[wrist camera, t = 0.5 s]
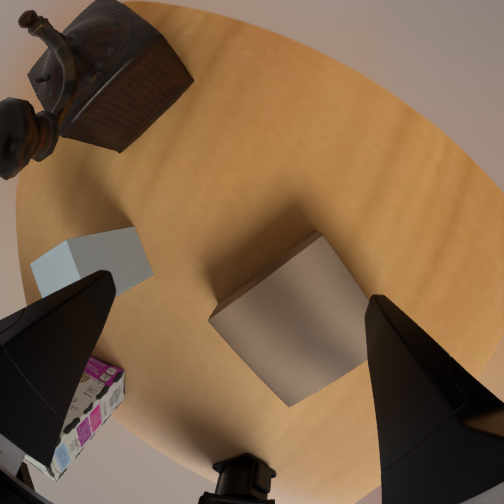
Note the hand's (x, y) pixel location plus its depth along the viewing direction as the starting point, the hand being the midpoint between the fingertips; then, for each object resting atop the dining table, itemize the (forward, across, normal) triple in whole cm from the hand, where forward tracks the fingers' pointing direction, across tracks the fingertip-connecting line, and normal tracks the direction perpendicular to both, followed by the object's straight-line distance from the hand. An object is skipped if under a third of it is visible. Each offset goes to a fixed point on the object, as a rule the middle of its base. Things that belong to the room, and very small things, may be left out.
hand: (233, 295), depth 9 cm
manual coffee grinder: (+19, +13, -6) cm, 24 cm away
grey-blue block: (+14, +13, +8) cm, 21 cm away
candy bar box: (+9, +20, +22) cm, 31 cm away
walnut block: (+12, -4, +12) cm, 18 cm away
